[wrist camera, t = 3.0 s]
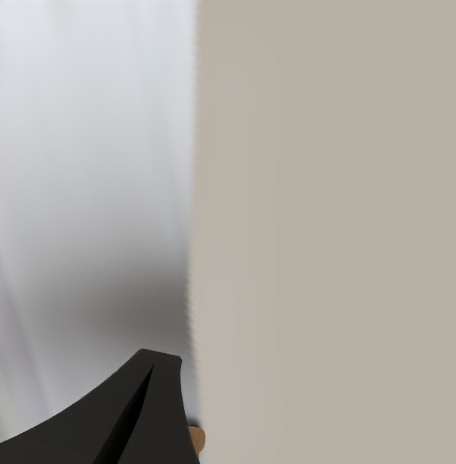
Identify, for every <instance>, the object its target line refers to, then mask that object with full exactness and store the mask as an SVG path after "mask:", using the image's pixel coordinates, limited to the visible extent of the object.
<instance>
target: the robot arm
mask: <svg viewBox="0 0 456 464" xmlns="http://www.w3.org/2000/svg"><path fill="white" fill-rule="evenodd" d="M181 364H182V359H181V358H180V356H175V355H171V354H166V353H161V352H156V351H152V350H147V349H140V350H139V351H137V352H136V353H135V354H134V355H133V356H132V357H131V358H130V359H129V360H128V361H127V362H126V363H125V364H124V365H123V366H122V367H120V368H119V369H118V370H117V371H116V372H115V373H114V374H112V375H111V376H110V377H109V378H107V379H106V380H105V381H104V382H103V383H101V384H100V385H99V386H98V387H96V388H95V389H93V390H92V391H91V392H89V393H88V394H87V395H85V396H84V397H83V398H81V399H80V400H78V401H77V402H75V403H74V404H72V405H71V406H69V407H68V408H66V409H65V410H63V411H61V412H60V413H58V414H56V415H55V416H53V417H52V418H50V419H48V420H46V421H44V422H43V423H41V424H39V425H37V426H35V427H33V428H31V429H29V430H27V431H25V432H23V433H21V434H19V435H17V436H15V437H13V438H11V439H8V440H6V441H4V442H2V443H0V464H200V462H199V459H198V456H197V454H196V451H195V448H194V445H193V442H192V439H191V435H190V432H189V428H188V424H187V420H186V415H185V411H184V405H183V399H182V392H181V379H180V370H181Z"/></svg>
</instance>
